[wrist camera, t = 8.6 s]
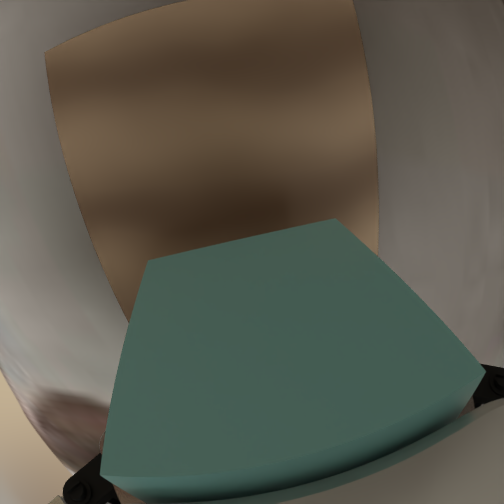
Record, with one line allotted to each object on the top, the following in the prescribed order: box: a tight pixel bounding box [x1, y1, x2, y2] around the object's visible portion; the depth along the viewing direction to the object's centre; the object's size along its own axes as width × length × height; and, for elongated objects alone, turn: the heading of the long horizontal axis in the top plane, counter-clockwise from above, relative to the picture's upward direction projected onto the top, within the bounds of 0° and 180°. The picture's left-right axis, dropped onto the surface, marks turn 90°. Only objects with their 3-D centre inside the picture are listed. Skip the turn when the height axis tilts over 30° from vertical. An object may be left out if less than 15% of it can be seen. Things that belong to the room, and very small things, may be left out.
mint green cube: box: [100, 218, 486, 504], centre depth 8 cm, size 7×7×8 cm
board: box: [45, 0, 379, 322], centre depth 13 cm, size 18×14×2 cm
